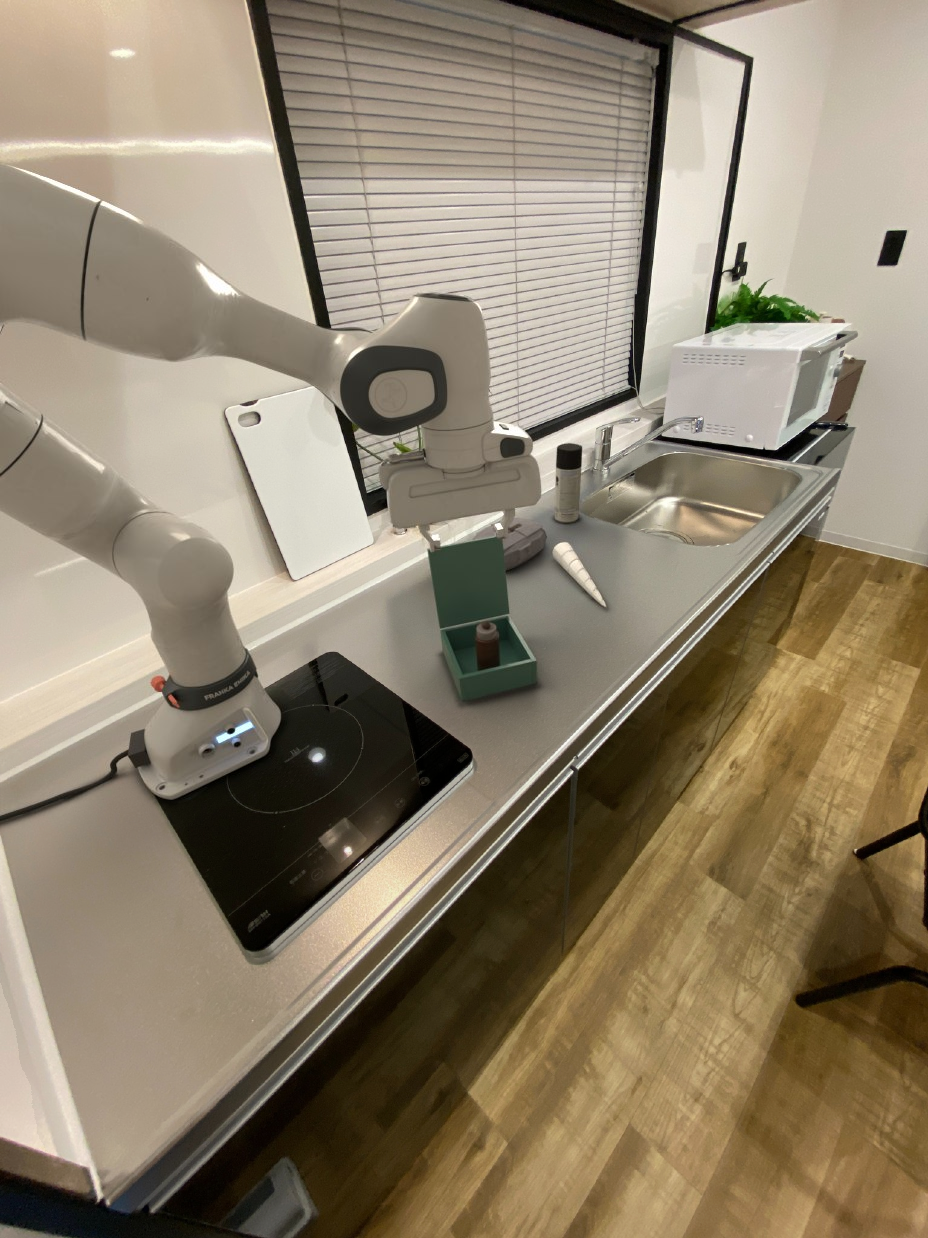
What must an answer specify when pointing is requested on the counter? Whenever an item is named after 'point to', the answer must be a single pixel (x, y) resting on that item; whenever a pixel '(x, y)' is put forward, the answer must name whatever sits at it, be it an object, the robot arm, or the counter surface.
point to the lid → (469, 581)
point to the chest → (511, 673)
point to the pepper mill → (487, 646)
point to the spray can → (568, 482)
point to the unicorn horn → (576, 569)
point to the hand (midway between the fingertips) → (468, 543)
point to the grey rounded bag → (519, 541)
